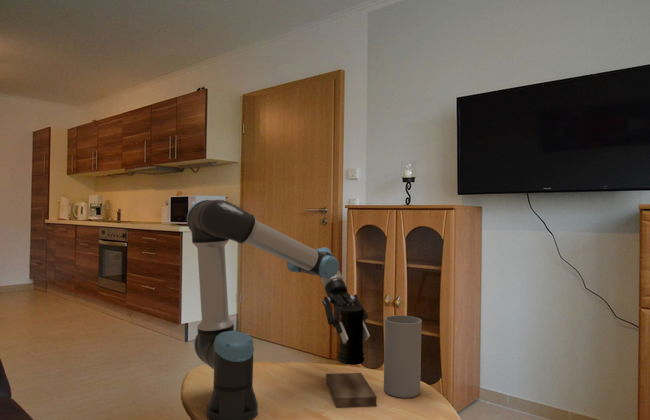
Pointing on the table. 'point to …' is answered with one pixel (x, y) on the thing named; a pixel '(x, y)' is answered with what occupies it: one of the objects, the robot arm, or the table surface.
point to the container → (352, 335)
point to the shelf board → (350, 390)
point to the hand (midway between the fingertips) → (356, 339)
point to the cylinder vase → (402, 356)
